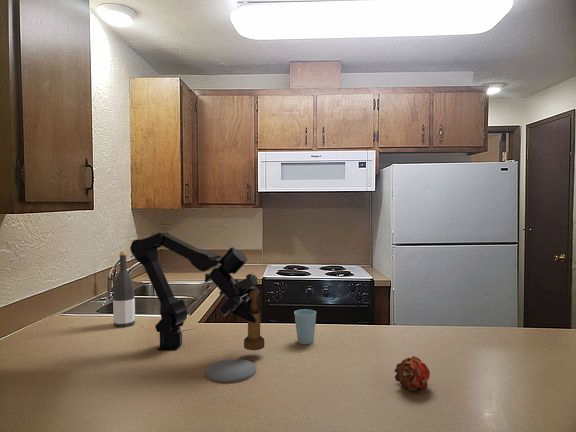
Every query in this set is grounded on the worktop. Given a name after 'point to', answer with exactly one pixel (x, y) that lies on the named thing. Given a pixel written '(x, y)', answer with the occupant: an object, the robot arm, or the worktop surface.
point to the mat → (231, 370)
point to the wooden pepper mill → (254, 326)
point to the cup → (305, 325)
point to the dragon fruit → (412, 373)
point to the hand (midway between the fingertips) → (257, 320)
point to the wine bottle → (123, 296)
